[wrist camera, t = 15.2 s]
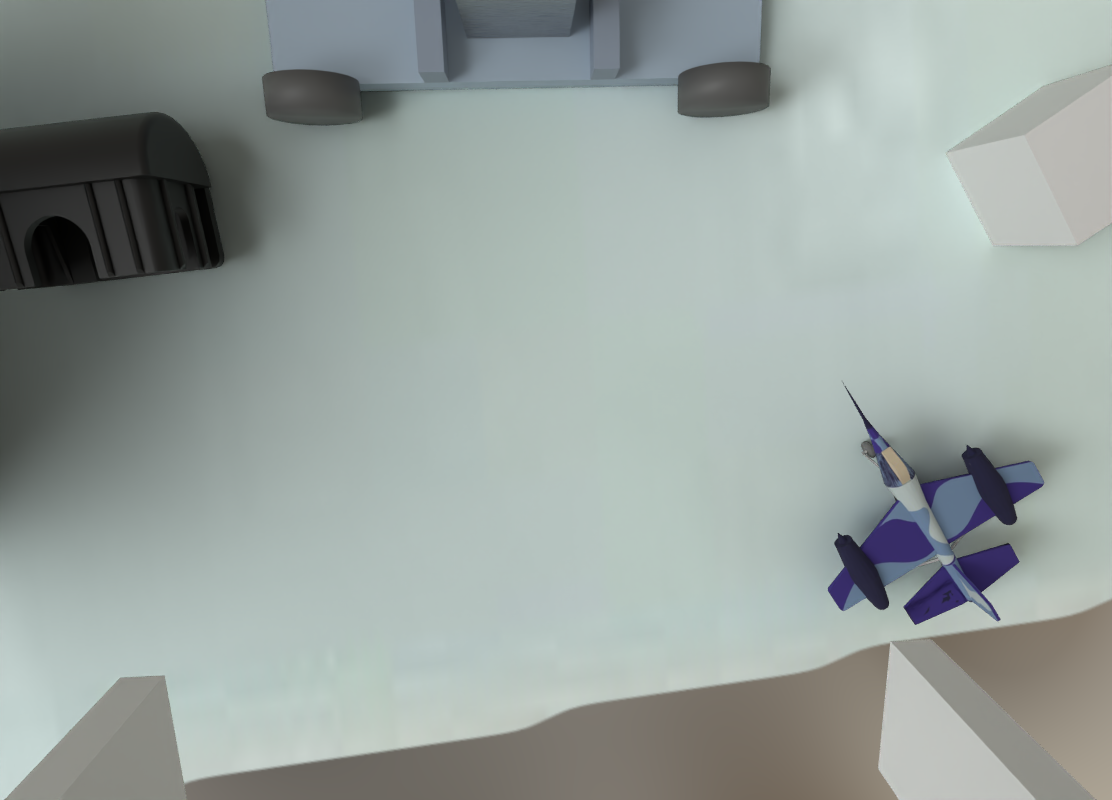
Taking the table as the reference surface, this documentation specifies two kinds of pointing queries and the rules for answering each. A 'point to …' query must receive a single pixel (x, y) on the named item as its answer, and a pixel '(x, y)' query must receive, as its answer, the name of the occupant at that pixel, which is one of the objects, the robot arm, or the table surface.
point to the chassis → (510, 54)
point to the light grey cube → (1044, 165)
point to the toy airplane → (933, 532)
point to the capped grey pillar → (516, 18)
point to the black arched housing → (103, 202)
